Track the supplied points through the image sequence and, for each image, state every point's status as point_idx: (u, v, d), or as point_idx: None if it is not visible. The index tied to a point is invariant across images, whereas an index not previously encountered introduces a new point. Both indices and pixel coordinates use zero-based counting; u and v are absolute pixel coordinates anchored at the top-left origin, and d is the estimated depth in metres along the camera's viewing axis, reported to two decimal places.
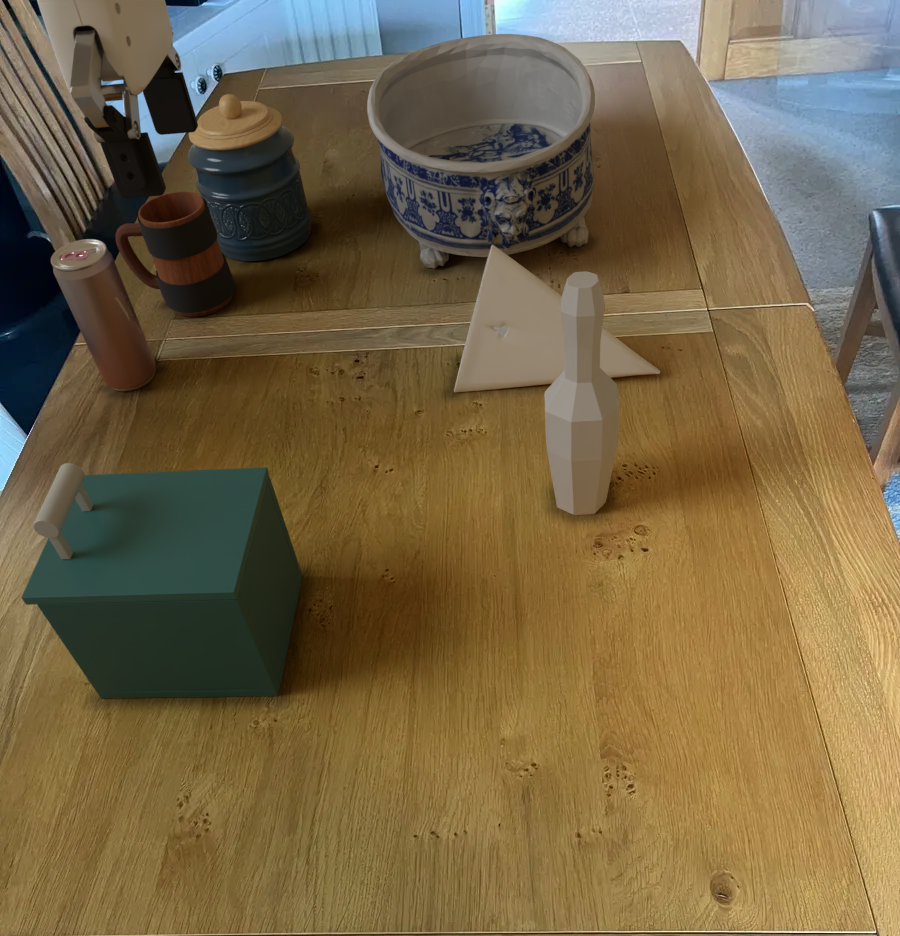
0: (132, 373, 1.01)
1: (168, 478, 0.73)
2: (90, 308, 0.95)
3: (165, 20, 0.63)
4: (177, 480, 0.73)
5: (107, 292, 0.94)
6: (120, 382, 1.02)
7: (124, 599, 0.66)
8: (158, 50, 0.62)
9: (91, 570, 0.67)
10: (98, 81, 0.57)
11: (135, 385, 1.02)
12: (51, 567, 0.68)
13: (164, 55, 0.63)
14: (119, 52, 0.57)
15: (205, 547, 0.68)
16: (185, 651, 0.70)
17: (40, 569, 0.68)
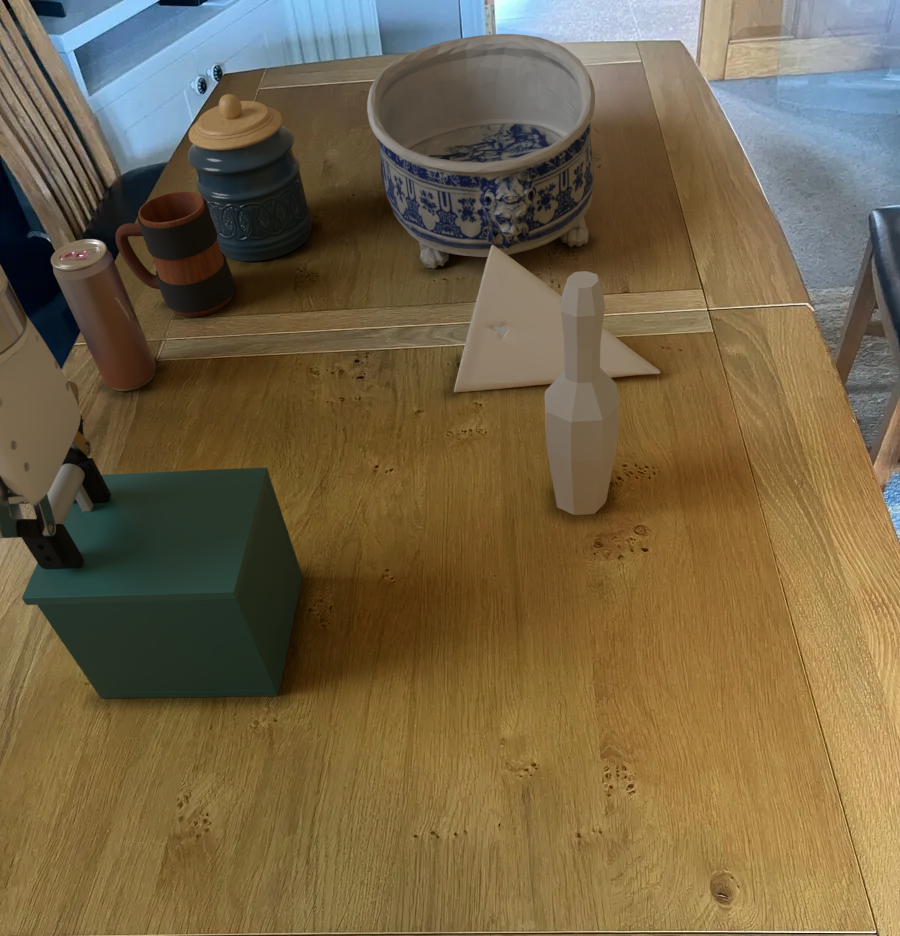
0: (132, 373, 1.01)
1: (168, 478, 0.73)
2: (90, 308, 0.95)
3: (71, 409, 0.65)
4: (177, 480, 0.73)
5: (107, 292, 0.94)
6: (120, 382, 1.02)
7: (124, 599, 0.66)
8: (62, 446, 0.64)
9: (91, 570, 0.67)
10: (7, 512, 0.60)
11: (135, 385, 1.02)
12: None
13: (70, 443, 0.65)
14: (17, 479, 0.59)
15: (205, 547, 0.68)
16: (185, 651, 0.70)
17: (40, 569, 0.68)
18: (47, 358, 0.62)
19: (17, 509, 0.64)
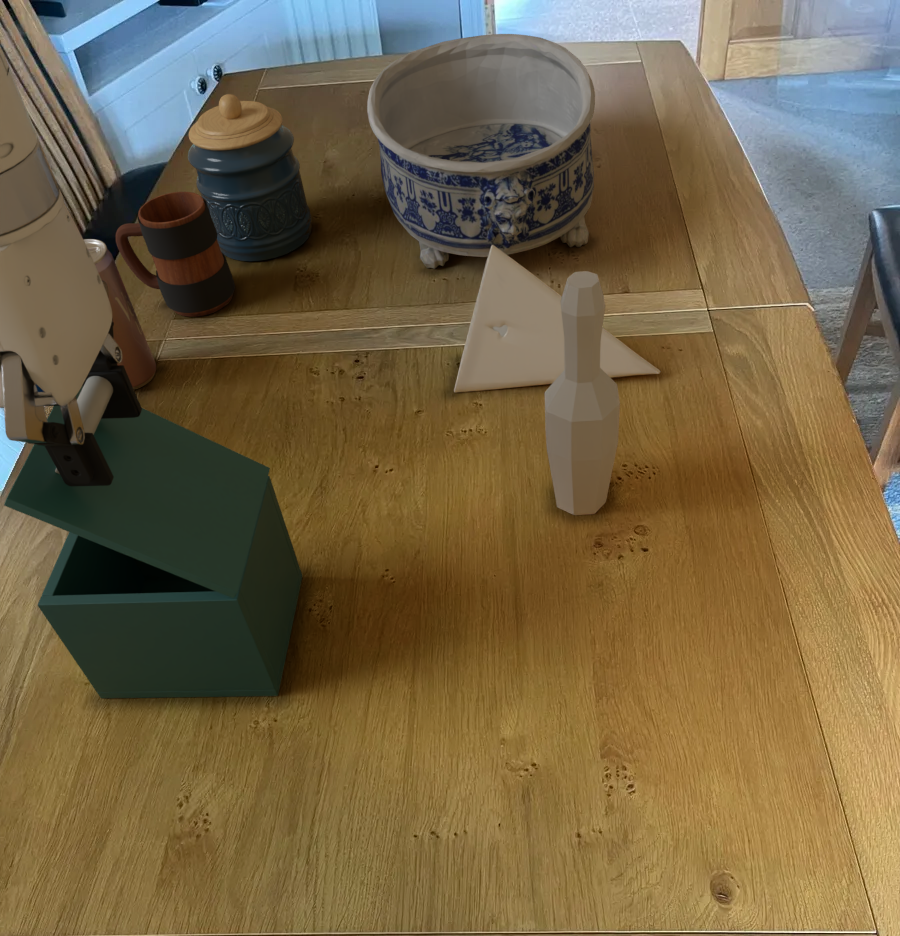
0: (132, 373, 1.01)
1: (172, 430, 0.69)
2: None
3: (102, 305, 0.59)
4: (181, 437, 0.69)
5: None
6: None
7: (120, 550, 0.62)
8: (93, 344, 0.57)
9: (88, 500, 0.62)
10: (33, 412, 0.53)
11: (135, 385, 1.02)
12: (42, 476, 0.61)
13: (101, 343, 0.59)
14: (45, 373, 0.53)
15: (209, 529, 0.66)
16: (185, 651, 0.70)
17: (29, 472, 0.61)
18: (78, 243, 0.56)
19: (42, 414, 0.57)
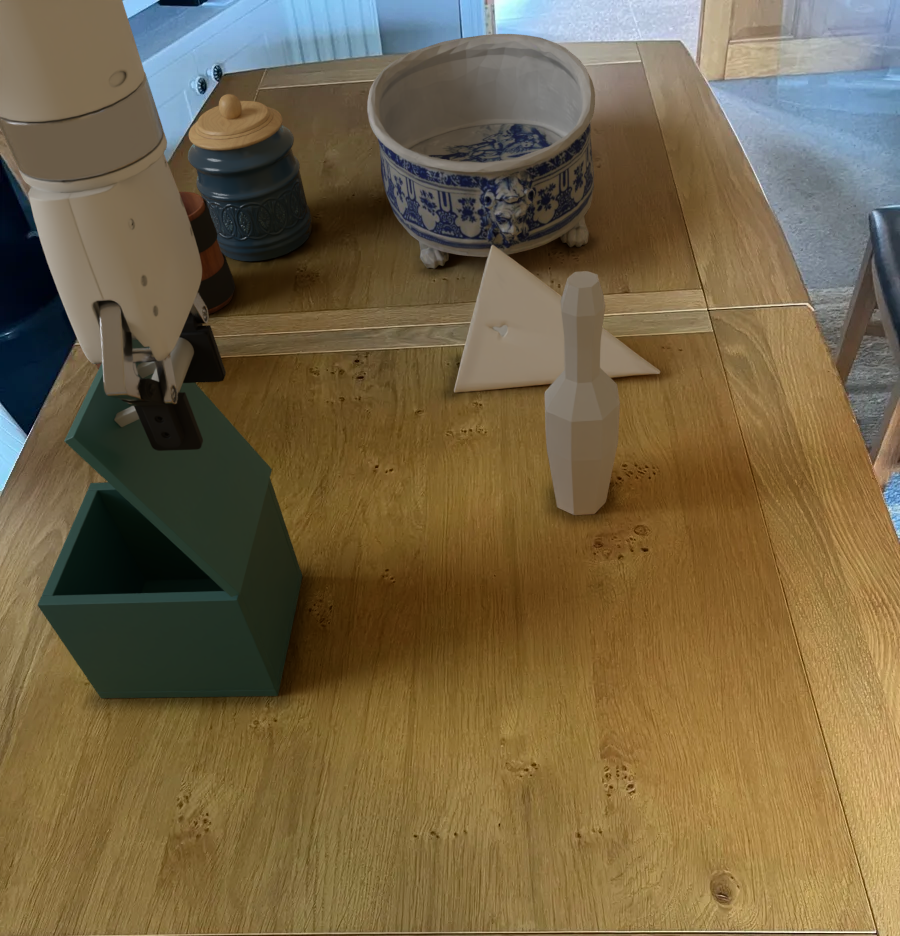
0: None
1: (205, 404, 0.67)
2: None
3: (194, 259, 0.56)
4: (211, 414, 0.68)
5: None
6: None
7: (154, 521, 0.60)
8: (187, 299, 0.55)
9: (137, 460, 0.59)
10: (131, 366, 0.51)
11: None
12: (103, 421, 0.57)
13: (193, 299, 0.56)
14: (145, 324, 0.50)
15: (225, 521, 0.65)
16: (185, 651, 0.70)
17: (93, 413, 0.56)
18: (174, 190, 0.53)
19: (134, 371, 0.54)
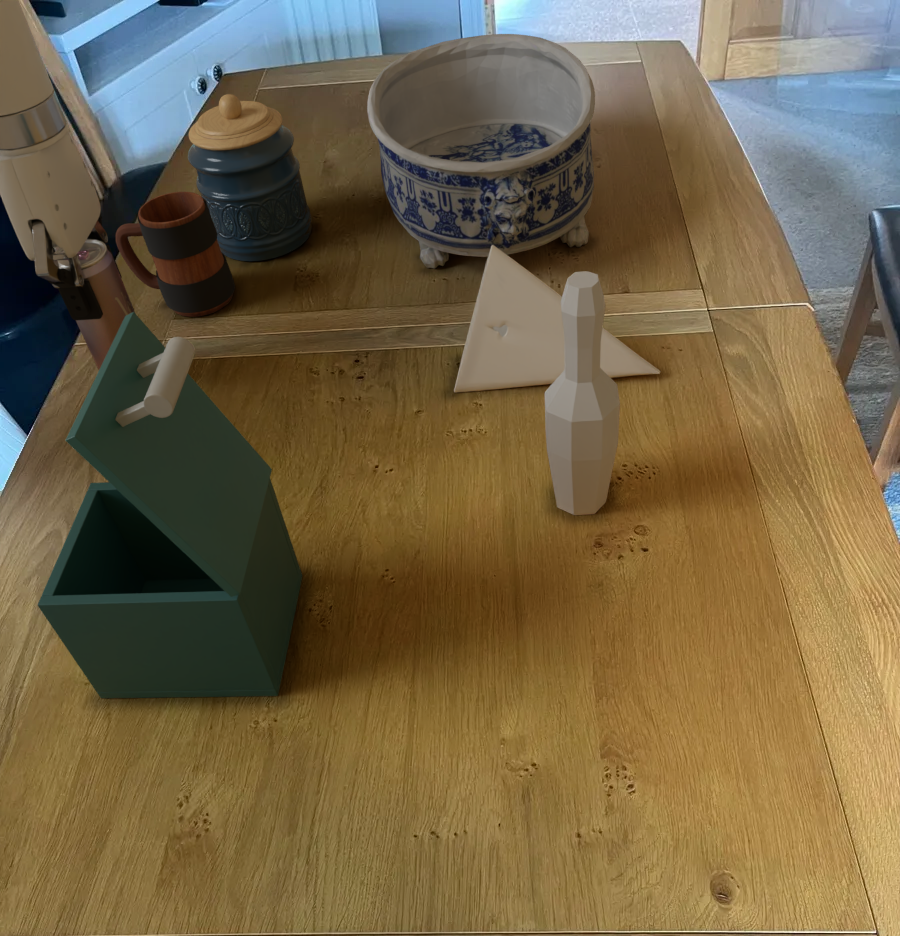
0: None
1: (206, 404, 0.67)
2: None
3: (94, 200, 0.92)
4: (212, 414, 0.68)
5: (107, 293, 0.94)
6: None
7: (155, 521, 0.60)
8: (88, 223, 0.91)
9: (138, 460, 0.59)
10: (52, 259, 0.87)
11: None
12: (104, 420, 0.57)
13: (93, 224, 0.92)
14: (58, 234, 0.86)
15: (225, 521, 0.65)
16: (185, 651, 0.70)
17: (94, 413, 0.56)
18: (78, 157, 0.89)
19: None
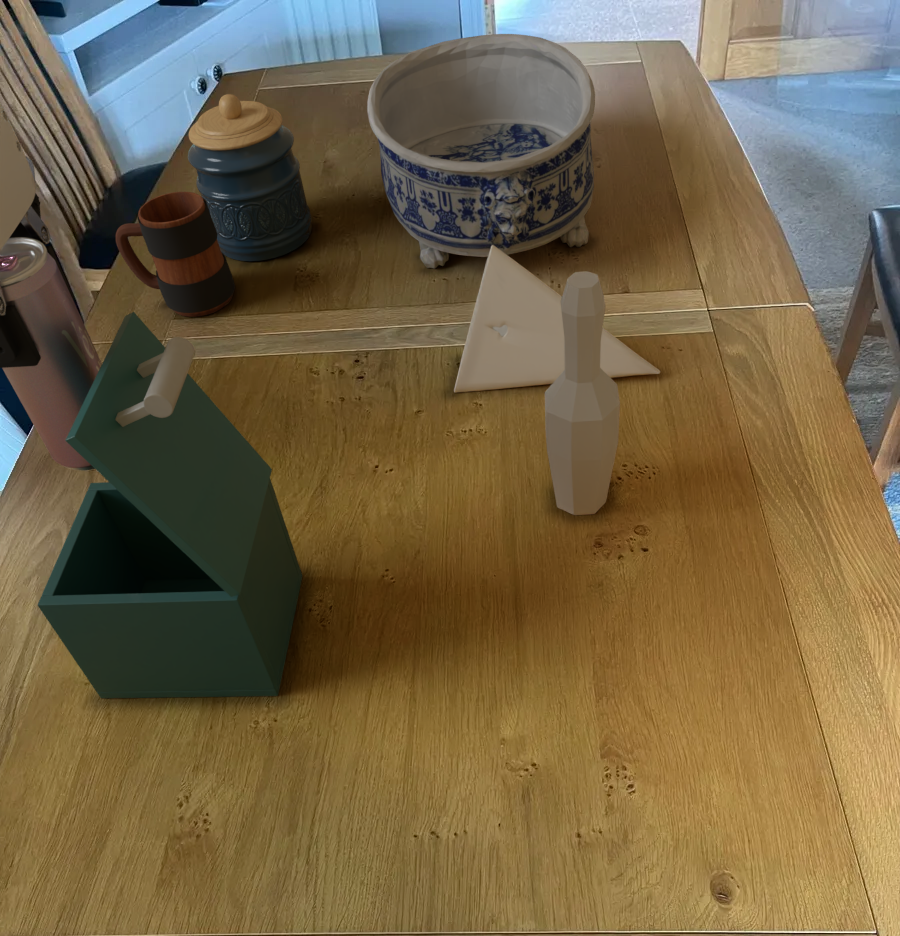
0: None
1: (206, 404, 0.67)
2: None
3: (23, 174, 0.57)
4: (212, 414, 0.68)
5: (49, 324, 0.59)
6: (75, 458, 0.66)
7: (155, 521, 0.60)
8: (12, 211, 0.55)
9: (138, 460, 0.59)
10: None
11: None
12: (104, 420, 0.57)
13: (22, 213, 0.57)
14: None
15: (225, 521, 0.65)
16: (185, 651, 0.70)
17: (94, 413, 0.56)
18: None
19: None
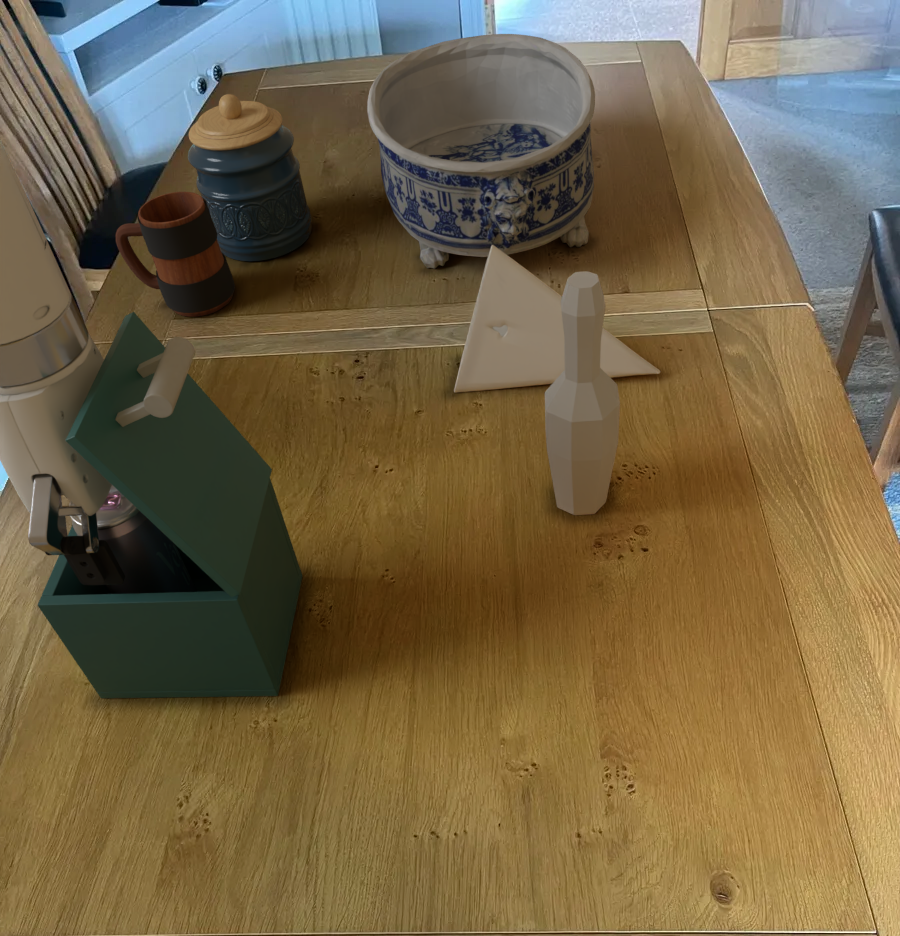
0: None
1: (206, 404, 0.67)
2: (123, 569, 0.69)
3: None
4: (212, 414, 0.68)
5: (147, 549, 0.68)
6: None
7: (155, 521, 0.60)
8: None
9: (138, 460, 0.59)
10: (56, 522, 0.59)
11: None
12: (104, 420, 0.57)
13: None
14: (76, 490, 0.60)
15: (225, 521, 0.65)
16: (185, 651, 0.70)
17: (94, 413, 0.56)
18: None
19: (63, 525, 0.63)
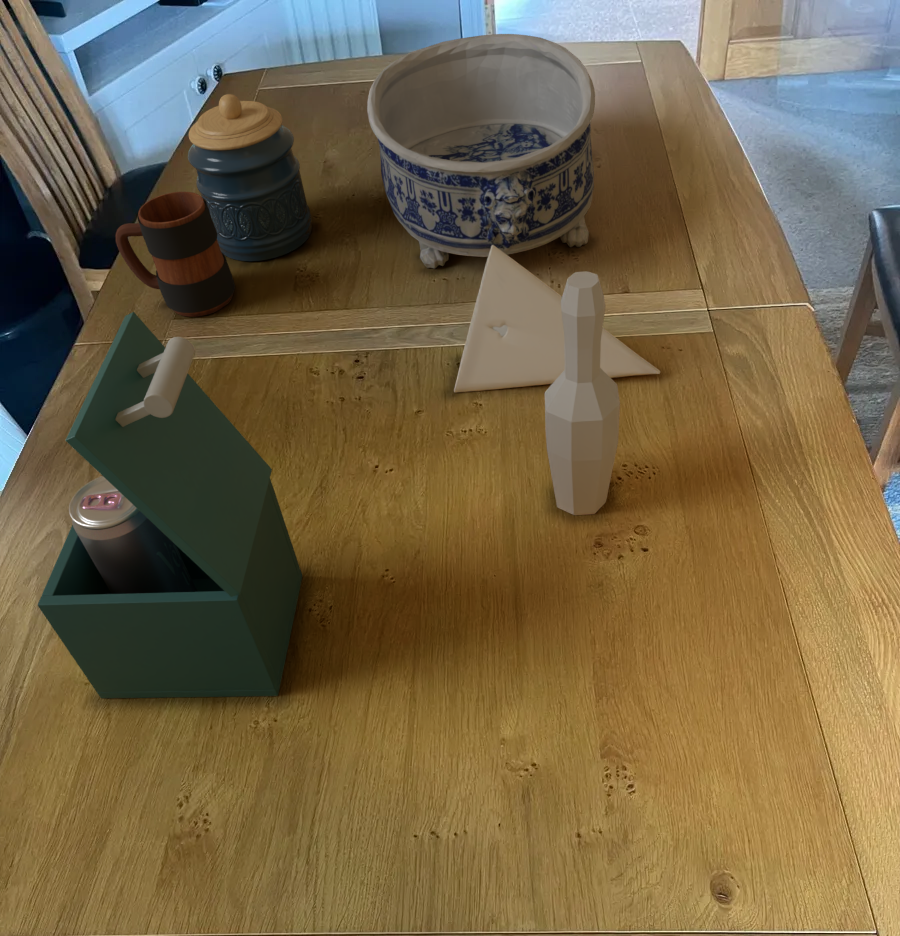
0: None
1: (206, 404, 0.67)
2: (123, 569, 0.69)
3: None
4: (212, 414, 0.68)
5: (147, 549, 0.68)
6: None
7: (155, 521, 0.60)
8: None
9: (138, 460, 0.59)
10: None
11: None
12: (104, 420, 0.57)
13: None
14: None
15: (225, 521, 0.65)
16: (185, 651, 0.70)
17: (94, 413, 0.56)
18: None
19: None
